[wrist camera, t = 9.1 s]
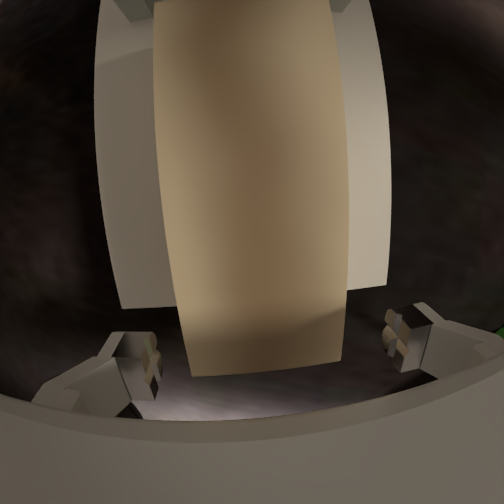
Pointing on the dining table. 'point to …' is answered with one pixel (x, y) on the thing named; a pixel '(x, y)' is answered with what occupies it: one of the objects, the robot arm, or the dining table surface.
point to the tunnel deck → (145, 153)
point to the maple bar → (253, 180)
